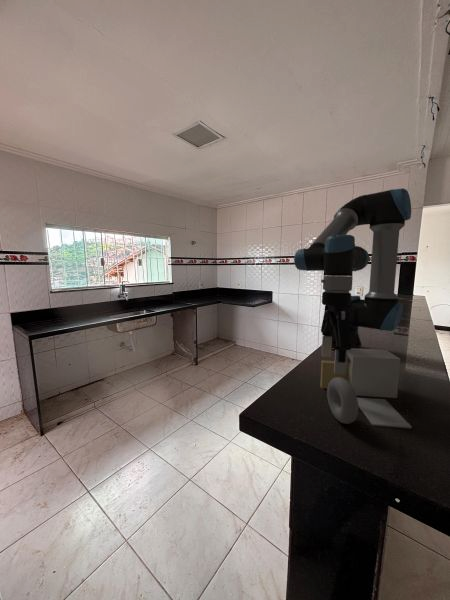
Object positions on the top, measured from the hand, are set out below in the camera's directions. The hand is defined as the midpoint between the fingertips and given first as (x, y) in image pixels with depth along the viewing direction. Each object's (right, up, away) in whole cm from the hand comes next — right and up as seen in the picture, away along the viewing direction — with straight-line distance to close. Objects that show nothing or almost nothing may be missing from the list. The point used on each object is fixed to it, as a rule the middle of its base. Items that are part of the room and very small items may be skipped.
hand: (332, 364), depth 74 cm
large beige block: (+10, -7, 0) cm, 13 cm away
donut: (-4, -9, -15) cm, 18 cm away
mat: (+7, -9, -12) cm, 16 cm away
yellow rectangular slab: (+3, -7, +1) cm, 8 cm away
